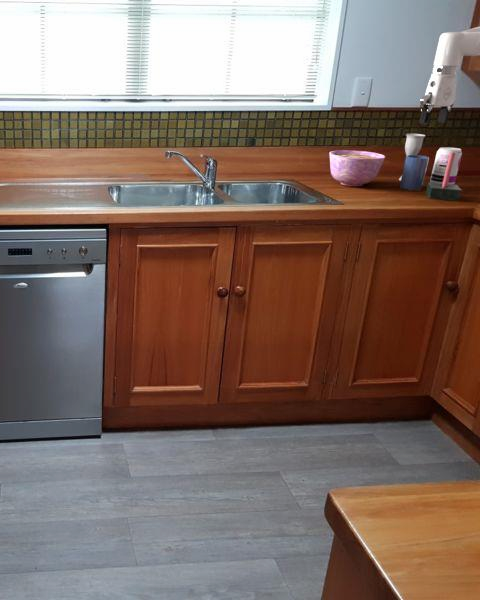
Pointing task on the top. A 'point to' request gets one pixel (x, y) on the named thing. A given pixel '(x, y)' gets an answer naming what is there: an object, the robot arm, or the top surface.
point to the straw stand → (443, 192)
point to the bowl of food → (355, 166)
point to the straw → (448, 169)
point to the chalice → (413, 144)
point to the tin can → (414, 172)
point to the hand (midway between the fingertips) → (432, 123)
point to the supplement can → (445, 165)
